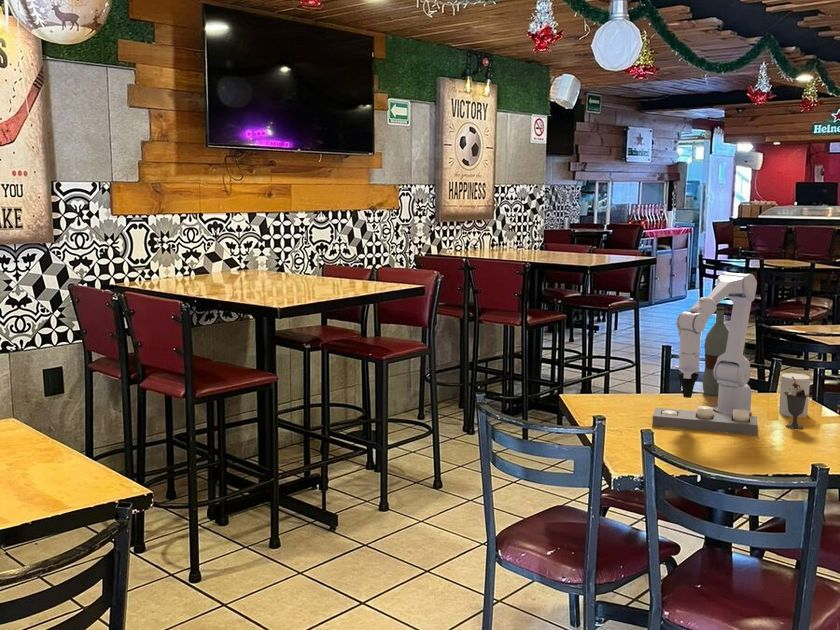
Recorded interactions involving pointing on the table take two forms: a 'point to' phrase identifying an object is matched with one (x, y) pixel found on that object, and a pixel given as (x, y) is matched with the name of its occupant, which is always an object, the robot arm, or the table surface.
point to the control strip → (704, 422)
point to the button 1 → (669, 413)
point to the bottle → (714, 352)
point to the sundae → (795, 403)
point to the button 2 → (741, 415)
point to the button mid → (705, 412)
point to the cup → (785, 386)
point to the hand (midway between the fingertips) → (687, 397)
